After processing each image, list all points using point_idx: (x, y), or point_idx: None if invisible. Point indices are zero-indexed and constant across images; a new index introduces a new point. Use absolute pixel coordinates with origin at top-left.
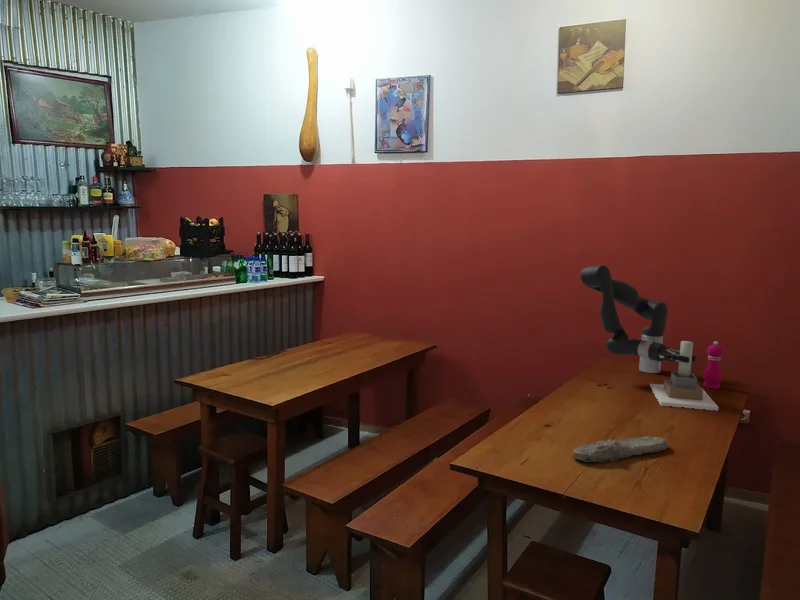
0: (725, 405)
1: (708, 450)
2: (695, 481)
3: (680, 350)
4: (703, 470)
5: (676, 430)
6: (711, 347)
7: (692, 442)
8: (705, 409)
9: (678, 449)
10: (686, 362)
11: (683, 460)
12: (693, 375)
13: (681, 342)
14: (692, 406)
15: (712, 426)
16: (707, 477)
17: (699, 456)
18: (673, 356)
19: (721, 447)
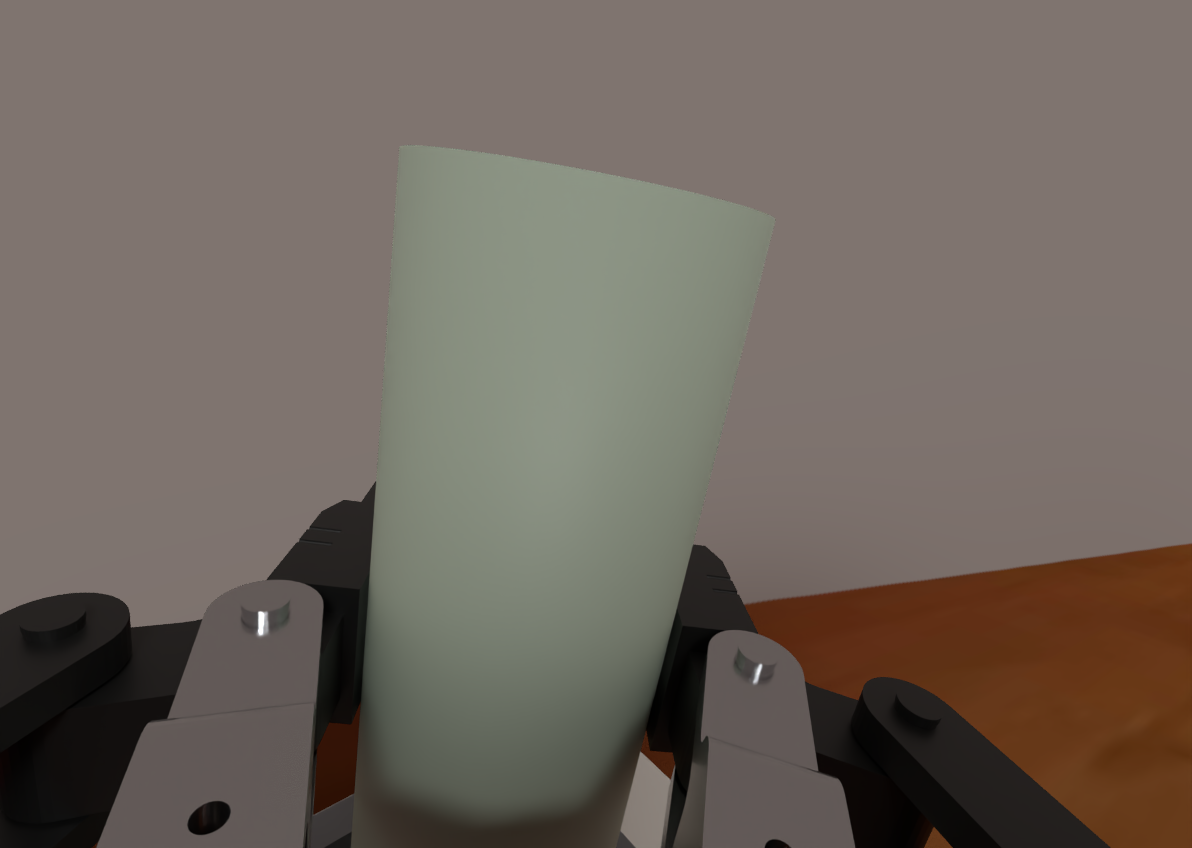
0: (358, 717)
1: (1042, 591)
2: (1188, 567)
3: (687, 515)
4: (1135, 570)
5: (1110, 723)
6: None
7: (1079, 637)
8: None
9: (1180, 644)
10: None
11: (1187, 611)
12: (349, 813)
13: (766, 229)
14: None
15: (848, 644)
16: (1139, 558)
17: (1106, 595)
18: (939, 725)
19: (971, 577)
